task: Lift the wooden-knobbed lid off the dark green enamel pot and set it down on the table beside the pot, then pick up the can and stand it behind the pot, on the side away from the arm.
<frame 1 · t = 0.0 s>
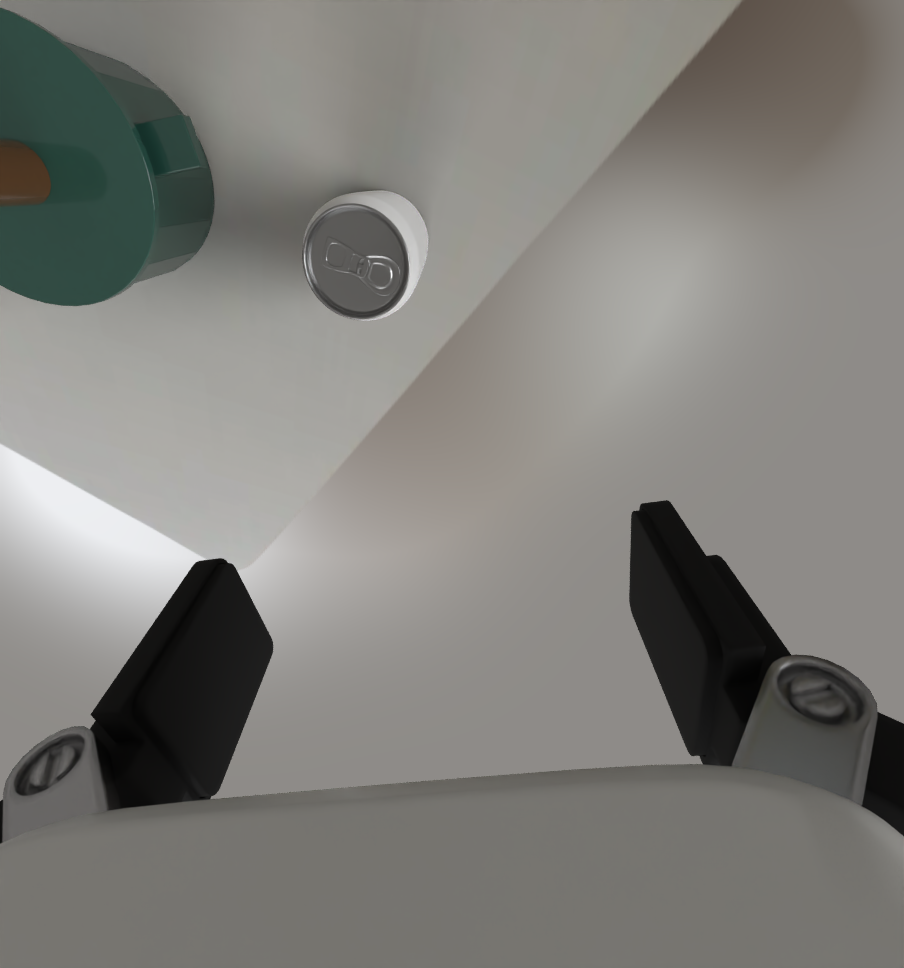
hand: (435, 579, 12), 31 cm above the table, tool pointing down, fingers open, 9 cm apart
can: (385, 241, 36), on the table
pot lid: (29, 173, 27), point 8 cm above the table, touching pot
pot: (120, 175, 34), on the table
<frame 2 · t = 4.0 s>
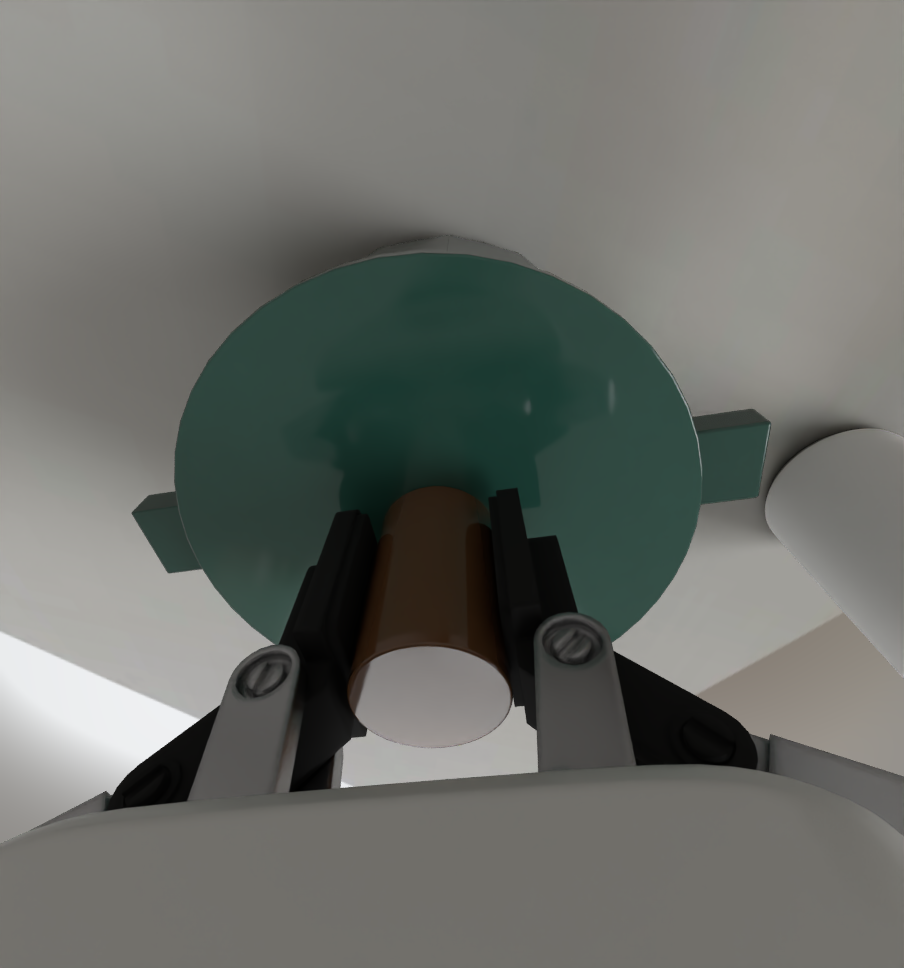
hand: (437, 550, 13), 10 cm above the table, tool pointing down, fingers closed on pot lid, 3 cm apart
can: (830, 485, 23), on the table
pot lid: (439, 519, 14), point 9 cm above the table, touching gripper, pot
pot: (445, 402, 21), on the table
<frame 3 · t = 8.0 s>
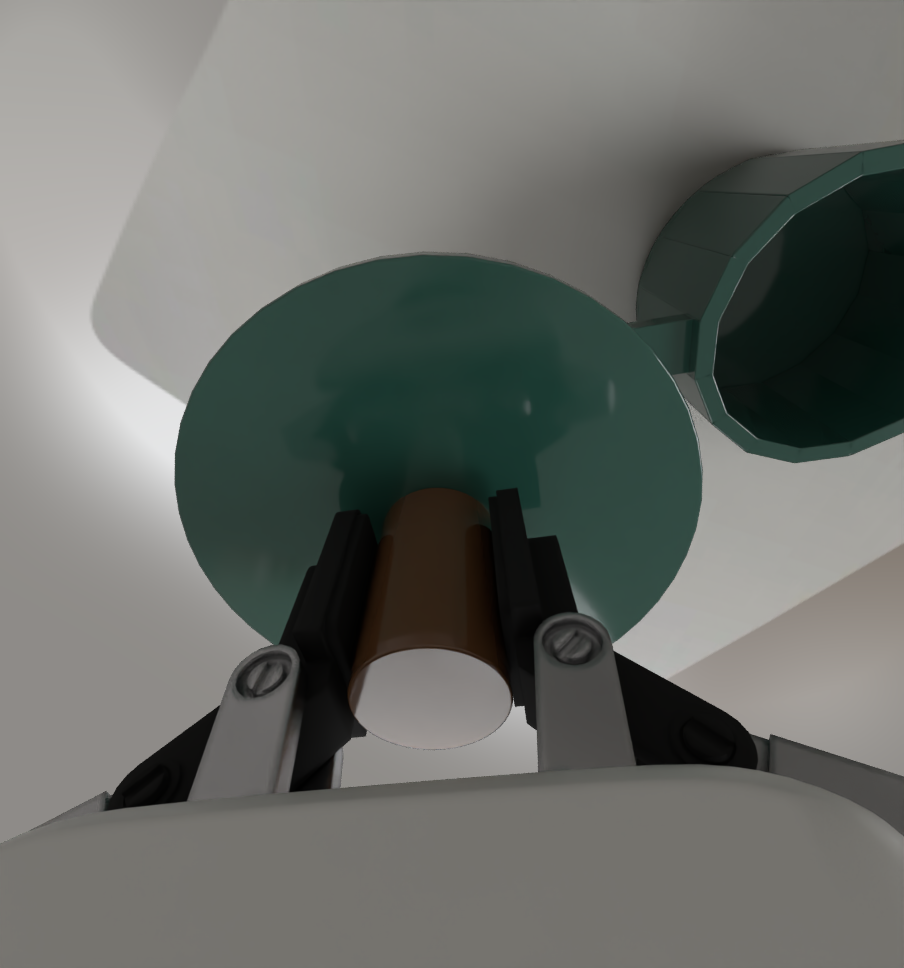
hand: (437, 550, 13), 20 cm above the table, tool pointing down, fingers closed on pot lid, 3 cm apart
pot lid: (439, 521, 14), point 18 cm above the table, touching gripper
pot: (751, 288, 28), on the table
when the fingers open (2 cm above the table, at t = 12.0 s): pot lid stays where it is, point 1 cm above the table.
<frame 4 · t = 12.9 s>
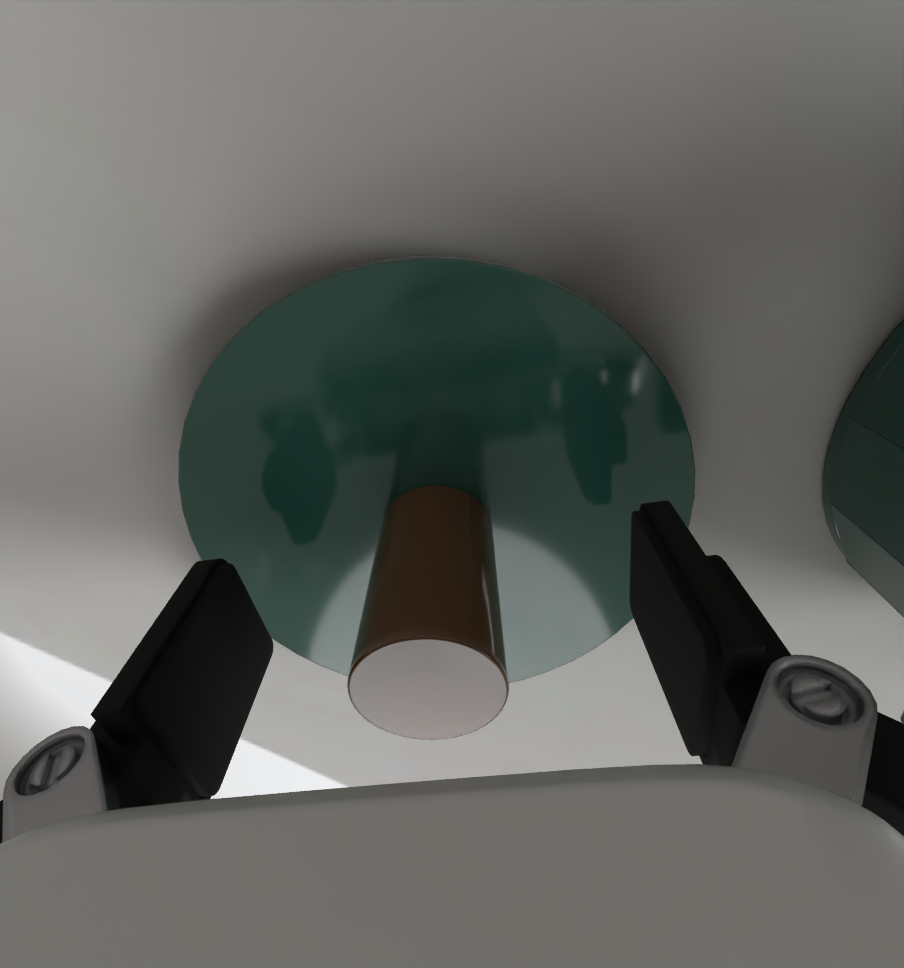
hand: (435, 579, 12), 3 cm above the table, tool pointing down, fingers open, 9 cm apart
pot lid: (437, 518, 14), point 1 cm above the table
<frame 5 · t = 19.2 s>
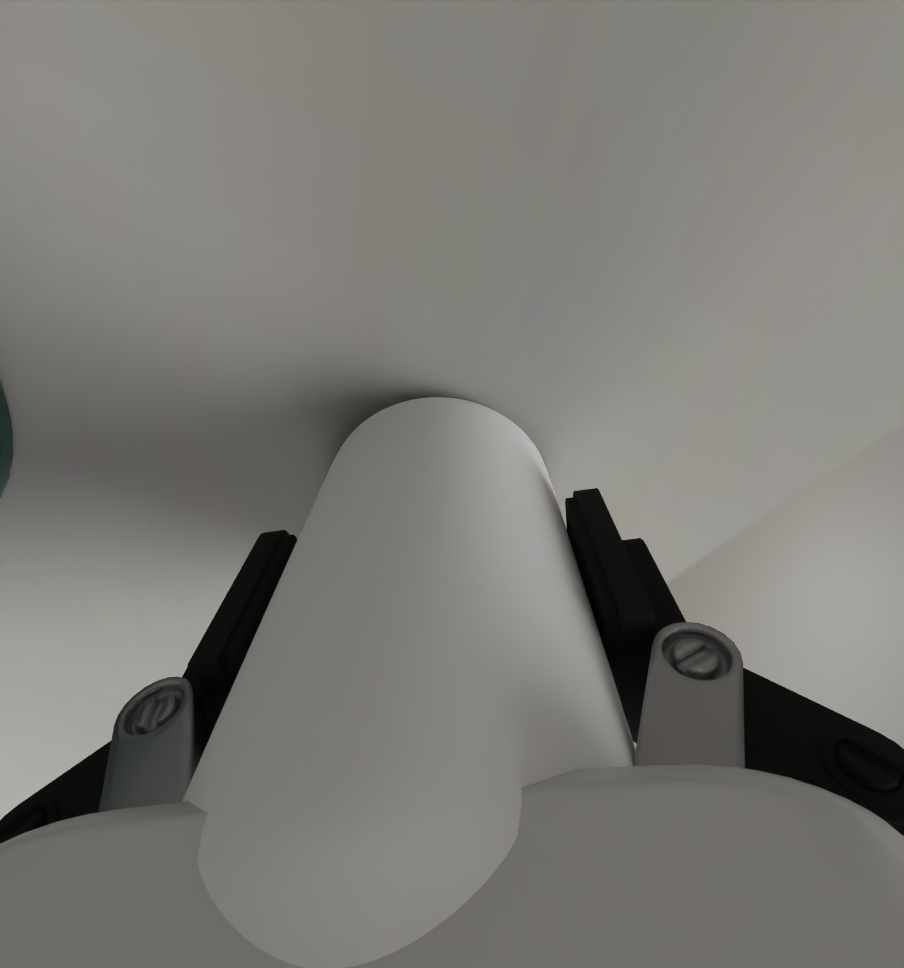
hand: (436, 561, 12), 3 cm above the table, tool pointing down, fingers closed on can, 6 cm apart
can: (440, 489, 15), on the table, touching gripper
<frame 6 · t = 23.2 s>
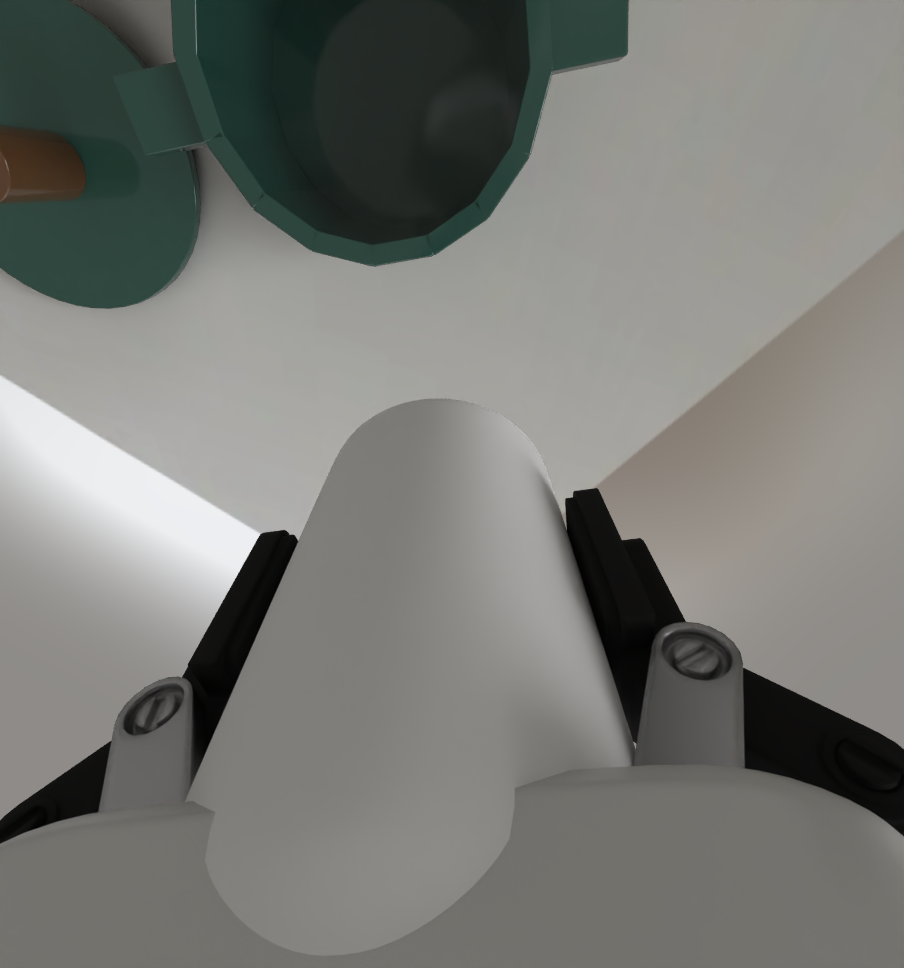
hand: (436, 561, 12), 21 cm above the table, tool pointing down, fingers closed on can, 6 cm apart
can: (440, 490, 15), point 17 cm above the table, touching gripper
pot lid: (62, 166, 25), point 1 cm above the table
pot: (391, 97, 24), on the table
when the fingers open (3 cm above the table, at t = 27.5 s): can stays where it is, on the table.
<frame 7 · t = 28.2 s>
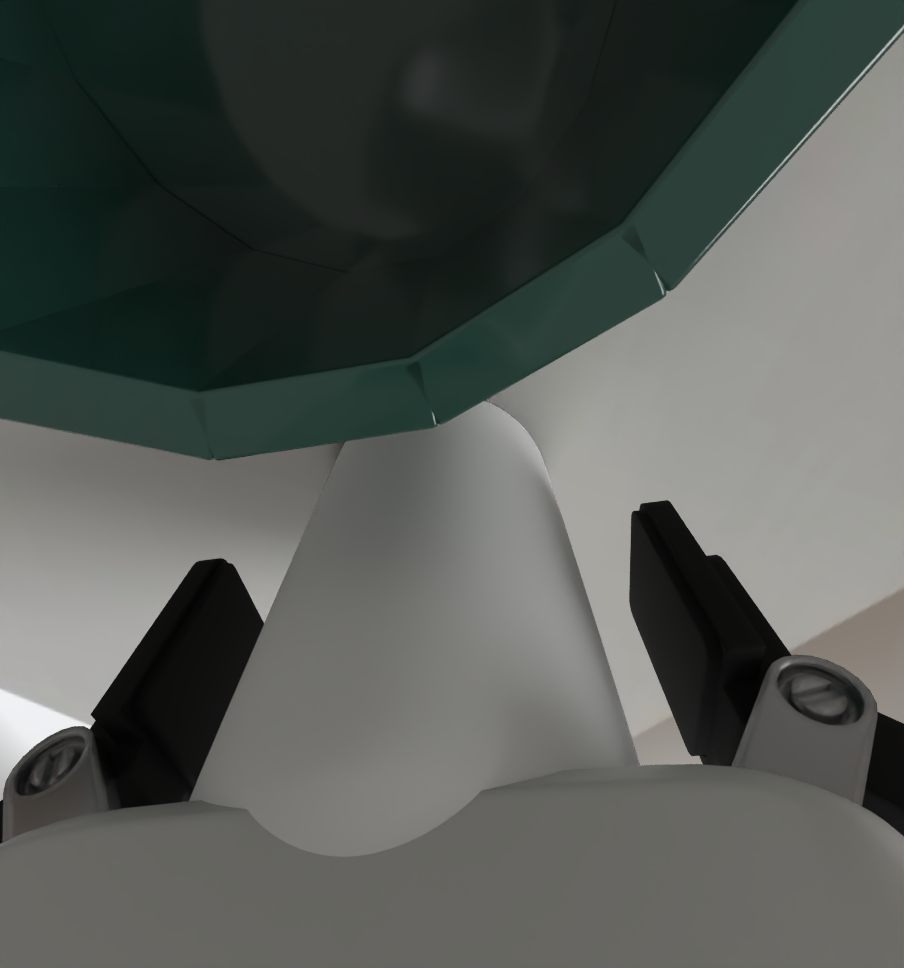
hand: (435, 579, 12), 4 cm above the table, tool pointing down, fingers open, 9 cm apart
can: (441, 481, 16), on the table
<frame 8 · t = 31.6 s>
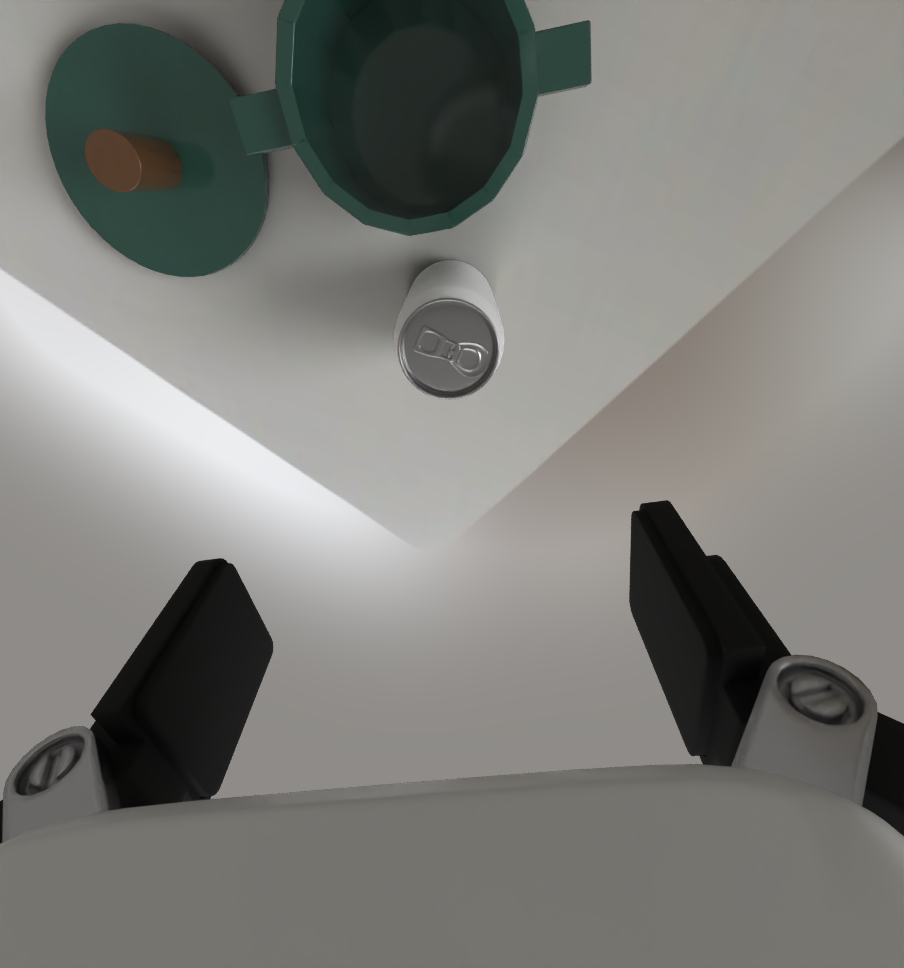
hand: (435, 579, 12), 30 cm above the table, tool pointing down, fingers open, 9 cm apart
can: (450, 304, 38), on the table
pot lid: (163, 164, 32), point 1 cm above the table
pot: (418, 110, 31), on the table
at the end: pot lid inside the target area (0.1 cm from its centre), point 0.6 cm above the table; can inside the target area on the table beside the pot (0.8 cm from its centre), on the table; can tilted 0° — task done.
